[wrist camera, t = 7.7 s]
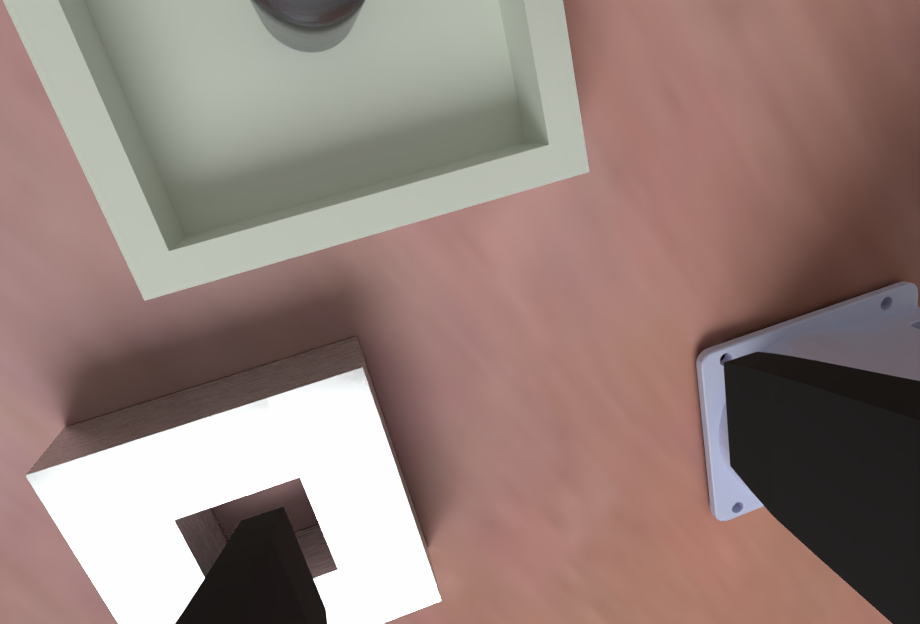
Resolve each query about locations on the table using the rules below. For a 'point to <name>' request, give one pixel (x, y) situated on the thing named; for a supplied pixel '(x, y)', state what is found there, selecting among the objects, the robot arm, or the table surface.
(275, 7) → the pin
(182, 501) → the block
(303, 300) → the table surface
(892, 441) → the robot arm
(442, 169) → the tray
